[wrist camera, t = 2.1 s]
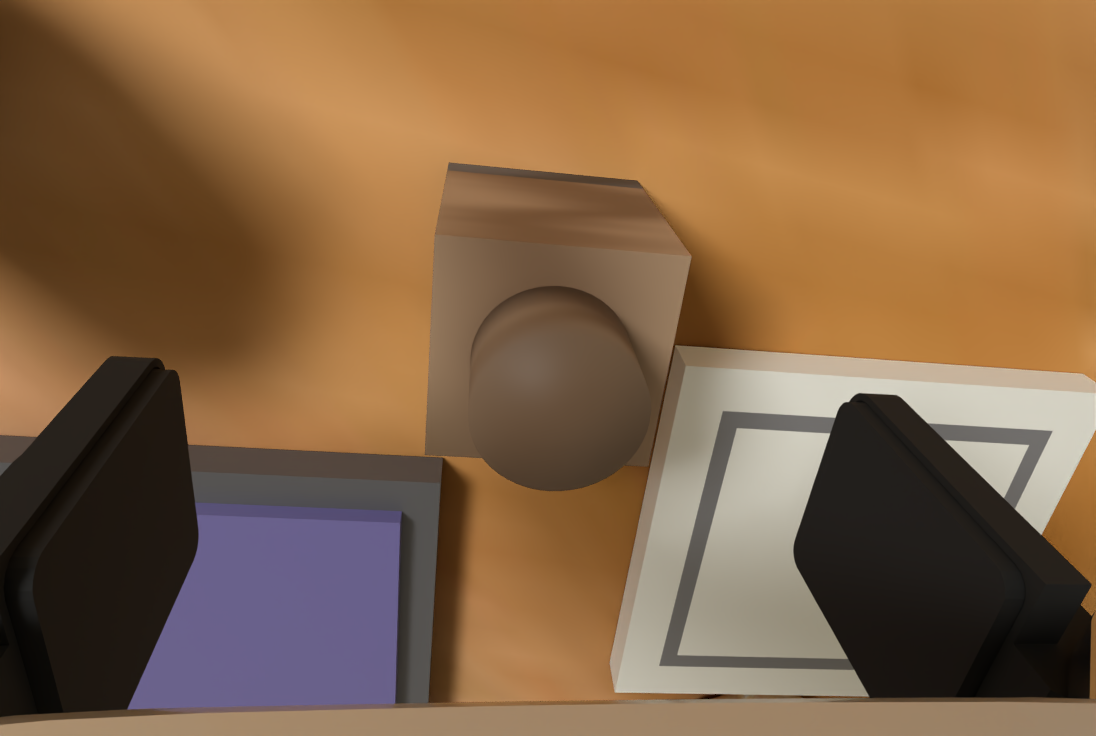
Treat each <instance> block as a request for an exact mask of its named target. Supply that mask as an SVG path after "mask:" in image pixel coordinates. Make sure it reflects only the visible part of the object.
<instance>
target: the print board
mask: <svg viewBox="0 0 1096 736" xmlns="http://www.w3.org/2000/svg"><path fill="white" fill-rule="evenodd" d="M858 393H869V394H889V395H898V396H899V397H901V398H902V399H903V400H904V401H905V402H906V403H907V404H908V405H909V406H910V407H911V408H912V409H913V410H914V411H915V412H916V413H917V414H918V415H919V416H920V417H921V418H922V419H924V420H925V421H926V422H927V423H928V424H929V425H930V426H931V427H932V428H933V429H934V430H935V431H936V432H937V433H938V434H939V435H940V436H941V437H942V438H943V439H944V440H945V441H946V442H947V443H948V444H949V445H950V446H951V447H952V448H953V449H954V450H955V451H956V452H957V453H958V454H959V455H960V456H961V457H962V458H963V459H964V460H965V461H966V462H967V463H968V464H969V465H970V466H971V467H972V468H973V469H975V470H976V471H977V472H978V473H979V474H980V475H981V476H982V477H983V478H984V479H985V480H986V481H987V482H988V483H989V484H990V485H991V486H992V487H993V488H994V489H995V490H996V491H997V492H998V493H999V494H1000V495H1001V496H1002V497H1003V498H1004V499H1005V500H1006V501H1007V502H1008V503H1009V504H1010V505H1011V506H1012V507H1013V508H1014V509H1015V510H1016V511H1017V512H1018V513H1019V514H1020V515H1021V516H1022V517H1023V518H1024V519H1025V520H1027V521H1028V522H1029V523H1030V524H1031V525H1032V526H1033V527H1034V528H1035V529H1036V530H1037V531H1038V532H1039V533H1040V534H1041V535H1042V533H1043V531H1044V529H1045V527H1046V525H1047V523H1048V521H1049V519H1050V517H1051V515H1052V513H1053V511H1054V510H1055V508H1056V506H1057V504H1058V502H1059V500H1060V498H1061V496H1062V494H1063V492H1064V490H1065V488H1066V486H1067V484H1068V482H1069V480H1070V478H1071V477H1072V475H1073V473H1074V471H1075V469H1076V467H1077V465H1078V463H1079V461H1080V459H1081V457H1082V455H1083V453H1084V451H1085V449H1086V447H1087V446H1088V444H1089V442H1090V440H1091V438H1092V436H1093V434H1094V432H1095V430H1096V382H1094V381H1093V380H1091V379H1090V378H1089V377H1087V376H1086V375H1084V374H1078V373H1064V372H1050V371H1035V370H1021V369H1007V368H993V367H978V366H964V365H950V364H936V363H921V362H907V361H893V360H879V359H864V358H850V357H836V356H822V355H807V354H793V353H779V352H765V351H750V350H736V349H722V348H708V347H693V346H679V345H675V350H674V355H673V359H672V364H671V369H670V374H669V379H668V384H667V388H666V393H665V398H664V403H663V408H662V412H661V417H660V422H659V427H658V432H657V437H656V441H655V446H654V451H653V456H652V461H651V466H650V470H649V475H648V480H647V485H646V490H645V494H644V499H643V504H642V509H641V514H640V519H639V523H638V528H637V533H636V538H635V543H634V547H633V552H632V557H631V562H630V567H629V572H628V576H627V581H626V586H625V591H624V596H623V600H622V605H621V610H620V615H619V620H618V625H617V629H616V634H615V639H614V644H613V649H612V653H611V658H610V668H611V674H612V679H613V685H614V690H615V692H618V693H681V694H744V695H807V696H869V695H868V694H867V692H866V690H865V688H864V687H863V685H862V683H861V681H860V679H859V678H858V676H857V674H856V672H855V670H854V669H853V667H852V665H851V663H850V661H849V660H848V658H847V656H846V654H845V653H844V651H843V649H842V647H841V645H840V644H839V642H838V640H837V638H836V636H835V635H834V633H833V631H832V629H831V628H830V626H829V624H828V622H827V620H826V619H825V617H824V615H823V613H822V611H821V610H820V608H819V606H818V604H817V603H816V601H815V599H814V597H813V595H812V594H811V592H810V590H809V588H808V586H807V585H806V583H805V581H804V579H803V577H802V576H801V574H800V572H799V570H798V569H797V566H796V564H795V560H794V554H793V547H794V541H795V538H796V535H797V532H798V529H799V526H800V523H801V520H802V517H803V514H804V511H805V508H806V505H807V502H808V499H809V496H810V493H811V490H812V487H813V484H814V481H815V478H816V475H817V472H818V469H819V466H820V463H821V460H822V457H823V454H824V451H825V448H826V445H827V442H828V439H829V436H830V433H831V430H832V427H833V424H834V421H835V418H836V415H837V412H838V410H839V407H840V406H841V405H842V404H843V403H845V402H849V401H850V400H851V398H852V397H853V396H854V395H856V394H858Z"/></svg>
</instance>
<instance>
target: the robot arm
mask: <svg viewBox="0 0 1096 736" xmlns="http://www.w3.org/2000/svg"><path fill="white" fill-rule="evenodd" d="M198 540H199V530H198V521H197V513H196V506H195V498H194V490H193V482H192V474H191V466H190V458H189V450H188V442H187V434H186V426H185V419H184V411H183V403H182V395H181V387H180V380H179V376H178V374H177V372H176V371H175V370H165V367H164V365H163V363H162V361H161V360H160V359H158V358H138V357H118V356H111V357H109V358H108V359H107V360H106V361H105V362H104V363H103V364H102V365H101V366H100V367H99V369H98V370H97V371H96V372H95V373H94V374H93V375H92V376H91V378H90V379H89V380H88V381H87V382H86V383H85V384H84V385H83V386H82V388H81V389H80V390H79V391H78V392H77V393H76V394H75V395H74V397H73V398H72V399H71V400H70V401H69V402H68V403H67V404H66V406H65V407H64V408H63V409H62V410H61V411H60V412H59V413H58V414H57V416H56V417H55V418H54V419H53V420H52V421H51V422H50V423H49V425H48V426H47V427H46V428H45V429H44V430H43V431H42V432H41V434H40V435H39V436H38V437H37V438H36V439H35V440H34V441H33V442H32V444H31V445H30V446H29V447H28V448H27V449H26V450H25V451H24V453H23V454H22V455H21V456H19V457H18V458H17V459H16V460H14V461H13V462H12V464H11V465H10V466H9V467H8V468H7V469H6V470H5V471H4V472H3V474H2V475H1V476H0V736H1096V611H1095V612H1094V613H1093V615H1092V616H1091V615H1090V614H1089V613H1088V612H1087V611H1086V610H1085V609H1084V608H1083V607H1082V606H1081V605H1080V604H1081V603H1082V601H1083V599H1084V598H1085V596H1086V594H1087V592H1088V591H1089V589H1090V587H1091V585H1092V584H1091V583H1090V582H1089V581H1088V580H1087V579H1086V578H1085V577H1084V576H1083V575H1082V574H1081V573H1080V572H1079V571H1077V570H1076V569H1075V568H1074V567H1073V566H1072V565H1071V564H1070V563H1069V562H1068V561H1067V560H1066V559H1065V558H1064V557H1063V556H1062V555H1061V554H1060V553H1059V552H1058V551H1057V550H1056V549H1055V548H1054V547H1053V546H1052V545H1051V544H1050V543H1049V542H1048V541H1047V540H1046V539H1045V538H1044V537H1043V536H1042V535H1041V534H1040V533H1039V532H1038V531H1037V530H1036V529H1035V528H1034V527H1033V526H1032V525H1031V524H1030V523H1029V522H1028V521H1027V520H1025V519H1024V518H1023V517H1022V516H1021V515H1020V514H1019V513H1018V512H1017V511H1016V510H1015V509H1014V508H1013V507H1012V506H1011V505H1010V504H1009V503H1008V502H1007V501H1006V500H1005V499H1004V498H1003V497H1002V496H1001V495H1000V494H999V493H998V492H997V491H996V490H995V489H994V488H993V487H992V486H991V485H990V484H989V483H988V482H987V481H986V480H985V479H984V478H983V477H982V476H981V475H980V474H979V473H978V472H977V471H976V470H975V469H973V468H972V467H971V466H970V465H969V464H968V463H967V462H966V461H965V460H964V459H963V458H962V457H961V456H960V455H959V454H958V453H957V452H956V451H955V450H954V449H953V448H952V447H951V446H950V445H949V444H948V443H947V442H946V441H945V440H944V439H943V438H942V437H941V436H940V435H939V434H938V433H937V432H936V431H935V430H934V429H933V428H932V427H931V426H930V425H929V424H928V423H927V422H926V421H925V420H924V419H922V418H921V417H920V416H919V415H918V414H917V413H916V412H915V411H914V410H913V409H912V408H911V407H910V406H909V405H908V404H907V403H906V402H905V401H904V400H903V399H902V398H901V397H899V396H898V395H889V394H869V393H858V394H856V395H854V396H853V397H852V398H851V400H850V401H849V402H845V403H843V404H842V405H841V406H840V407H839V410H838V412H837V415H836V418H835V421H834V424H833V427H832V430H831V433H830V436H829V439H828V442H827V445H826V448H825V451H824V454H823V457H822V460H821V463H820V466H819V469H818V472H817V475H816V478H815V481H814V484H813V487H812V490H811V493H810V496H809V499H808V502H807V505H806V508H805V511H804V514H803V517H802V520H801V523H800V526H799V529H798V532H797V535H796V538H795V541H794V547H793V554H794V560H795V564H796V566H797V569H798V570H799V572H800V574H801V576H802V577H803V579H804V581H805V583H806V585H807V586H808V588H809V590H810V592H811V594H812V595H813V597H814V599H815V601H816V603H817V604H818V606H819V608H820V610H821V611H822V613H823V615H824V617H825V619H826V620H827V622H828V624H829V626H830V628H831V629H832V631H833V633H834V635H835V636H836V638H837V640H838V642H839V644H840V645H841V647H842V649H843V651H844V653H845V654H846V656H847V658H848V660H849V661H850V663H851V665H852V667H853V669H854V670H855V672H856V674H857V676H858V678H859V679H860V681H861V683H862V685H863V687H864V688H865V690H866V692H867V694H868V695H869V697H870V698H784V699H678V700H593V701H515V702H453V703H397V704H340V705H284V706H233V707H185V708H147V709H128V707H129V704H130V702H131V700H132V698H133V695H134V693H135V691H136V689H137V686H138V684H139V682H140V680H141V677H142V675H143V673H144V671H145V669H146V666H147V664H148V662H149V660H150V657H151V655H152V653H153V651H154V648H155V646H156V644H157V642H158V639H159V637H160V635H161V633H162V630H163V628H164V626H165V624H166V621H167V619H168V617H169V615H170V612H171V610H172V608H173V606H174V603H175V601H176V599H177V597H178V595H179V592H180V590H181V588H182V586H183V583H184V581H185V579H186V577H187V574H188V572H189V570H190V568H191V565H192V563H193V561H194V558H195V556H196V552H197V548H198ZM127 709H128V710H127Z"/></svg>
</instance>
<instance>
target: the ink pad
mask: <svg viewBox="0 0 1096 736" xmlns="http://www.w3.org/2000/svg"><path fill="white" fill-rule="evenodd" d="M36 438H37V437H22V436H2V435H0V476H1V475H2V474H3V472H4V471H5V470H6V469H7V468H8V467H9V466H10V465H11V464H12V462H13V461H14V460H16V459H17V458H18V457H19V456H21V455H22V454H23V453H24V451H25V450H26V449H27V448H28V447H29V446H30V445H31V444H32V442H33V441H34V440H35V439H36ZM188 450H189V458H190V466H191V474H192V482H193V490H194V498H195V506H196V513H197V521H198V530H199V540H198V548H197V552H196V556H195V558H194V561H193V563H192V565H191V568H190V570H189V572H188V574H187V577H186V579H185V581H184V583H183V586H182V588H181V590H180V592H179V595H178V597H177V599H176V601H175V603H174V606H173V608H172V610H171V612H170V615H169V617H168V619H167V621H166V624H165V626H164V628H163V630H162V633H161V635H160V637H159V639H158V642H157V644H156V646H155V648H154V651H153V653H152V655H151V657H150V660H149V662H148V664H147V666H146V669H145V671H144V673H143V675H142V677H141V680H140V682H139V684H138V686H137V689H136V691H135V693H134V695H133V698H132V700H131V702H130V704H129V707H128V709H147V708H185V707H233V706H284V705H340V704H397V703H429V689H430V672H431V655H432V637H433V620H434V602H435V585H436V567H437V550H438V532H439V515H440V498H441V480H442V463H443V458H435V457H416V456H396V455H376V454H357V453H337V452H317V451H297V450H278V449H258V448H238V447H219V446H199V445H188ZM128 709H127V710H128Z"/></svg>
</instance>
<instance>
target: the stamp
mask: <svg viewBox="0 0 1096 736" xmlns="http://www.w3.org/2000/svg"><path fill="white" fill-rule="evenodd" d="M691 257H692V256H691V255H690V253H689V252H688V251H687V249H686V248H685V246H684V245H683V244H682V242H681V241H680V239H679V238H678V237H677V235H676V234H675V232H674V231H673V230H672V228H671V227H670V226H669V224H668V223H667V221H666V220H665V219H664V217H663V216H662V214H661V213H660V212H659V210H658V209H657V207H656V206H655V205H654V203H653V202H652V200H651V199H650V198H649V196H648V195H647V194H646V192H645V191H644V189H643V188H642V187H641V185H640V184H639V182H638V181H635V180H625V179H615V178H604V177H594V176H583V175H573V174H562V173H552V172H542V171H531V170H521V169H510V168H500V167H490V166H479V165H469V164H458V163H449V165H448V170H447V175H446V180H445V185H444V190H443V195H442V201H441V206H440V211H439V216H438V221H437V226H436V231H435V241H434V263H433V286H432V308H431V330H430V352H429V374H428V396H427V419H426V441H425V455H435V456H454V457H473V458H483V459H484V460H485V462H486V463H487V464H488V465H489V466H490V467H491V468H492V469H494V470H495V471H496V472H497V473H498V474H500V475H502V476H503V477H505V478H506V479H508V480H510V481H512V482H514V483H516V484H519V485H522V486H525V487H528V488H532V489H537V490H545V491H565V490H573V489H578V488H582V487H586V486H589V485H592V484H595V483H597V482H599V481H601V480H603V479H605V478H607V477H609V476H610V475H612V474H614V473H615V472H616V471H618V470H619V469H620V468H621V467H623V466H624V465H626V466H645V467H648V465H649V460H650V455H651V450H652V446H653V441H654V436H655V431H656V426H657V421H658V417H659V412H660V407H661V402H662V397H663V392H664V388H665V383H666V378H667V373H668V368H669V363H670V359H671V354H672V349H673V344H674V339H675V334H676V330H677V325H678V320H679V315H680V310H681V305H682V301H683V296H684V291H685V286H686V281H687V276H688V272H689V267H690V262H691Z"/></svg>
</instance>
